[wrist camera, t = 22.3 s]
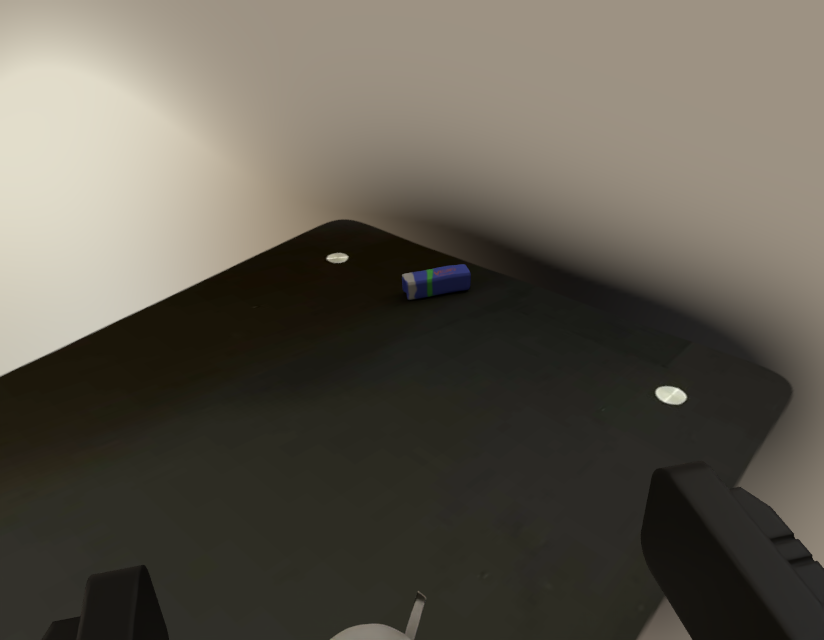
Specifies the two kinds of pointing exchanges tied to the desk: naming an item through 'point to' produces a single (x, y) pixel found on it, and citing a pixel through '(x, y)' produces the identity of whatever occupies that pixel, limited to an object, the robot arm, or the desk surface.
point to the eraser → (436, 281)
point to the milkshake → (386, 627)
